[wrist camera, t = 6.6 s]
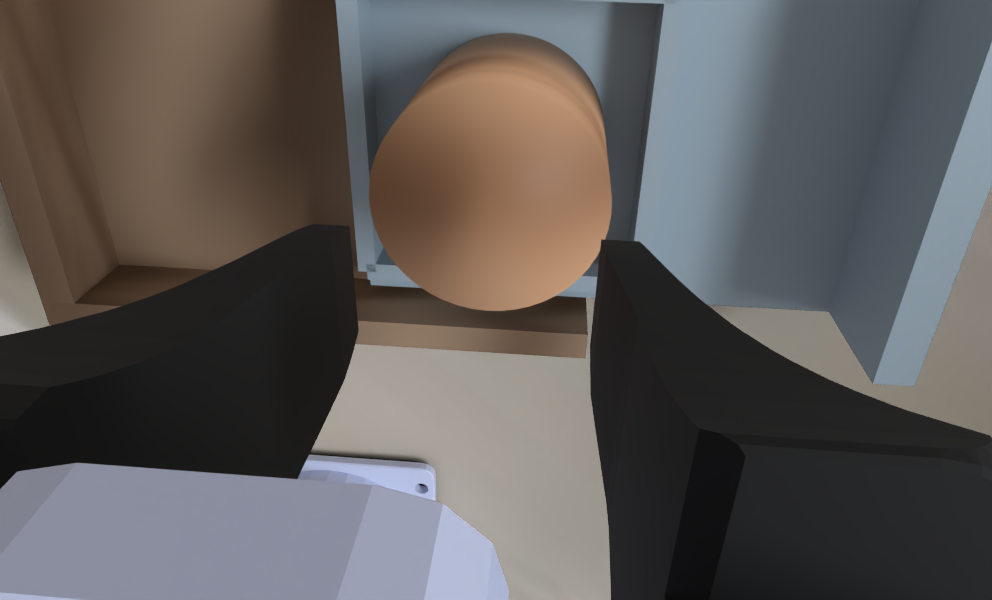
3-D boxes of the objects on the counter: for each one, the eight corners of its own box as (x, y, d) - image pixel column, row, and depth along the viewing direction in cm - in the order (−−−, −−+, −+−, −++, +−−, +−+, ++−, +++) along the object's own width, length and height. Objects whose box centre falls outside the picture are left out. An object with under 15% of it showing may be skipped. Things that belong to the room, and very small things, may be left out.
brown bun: (594, 224, 20) (598, 319, 16) (417, 213, 21) (376, 302, 16) (614, 37, 18) (625, 90, 14) (412, 28, 18) (361, 76, 14)
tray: (968, -61, 17) (1079, -44, 13) (855, 301, 22) (914, 386, 18) (351, -79, 18) (296, -67, 14) (376, 274, 23) (339, 349, 19)
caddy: (622, -127, 18) (633, -128, 15) (582, 297, 24) (585, 358, 21) (-2, -141, 19) (-110, -145, 16) (112, 270, 25) (49, 324, 22)
